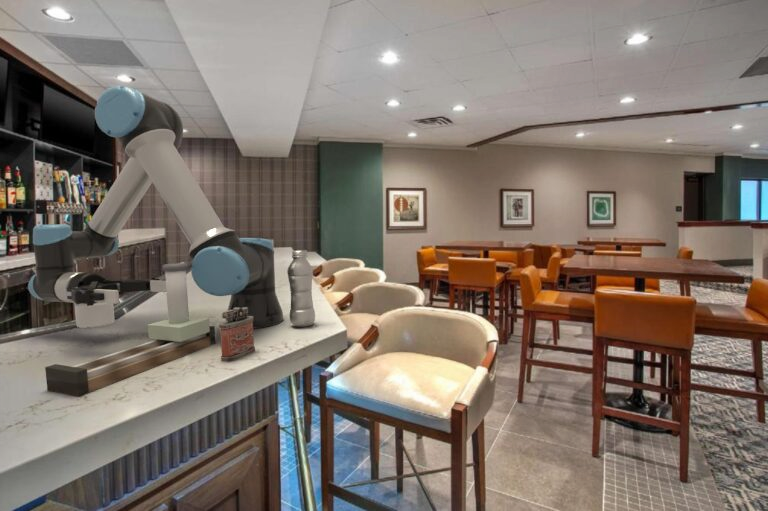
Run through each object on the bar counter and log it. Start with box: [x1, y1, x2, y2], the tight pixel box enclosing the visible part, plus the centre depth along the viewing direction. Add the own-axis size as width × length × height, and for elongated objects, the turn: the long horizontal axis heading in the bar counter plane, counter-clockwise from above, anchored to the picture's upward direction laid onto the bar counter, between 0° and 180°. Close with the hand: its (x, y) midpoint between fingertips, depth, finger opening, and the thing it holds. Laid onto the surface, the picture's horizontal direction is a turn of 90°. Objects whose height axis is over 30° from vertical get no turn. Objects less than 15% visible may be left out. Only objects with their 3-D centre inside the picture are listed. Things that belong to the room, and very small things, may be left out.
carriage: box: [147, 262, 210, 342], centre depth 89 cm, size 8×9×16 cm
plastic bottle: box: [286, 249, 316, 328], centre depth 108 cm, size 6×7×20 cm
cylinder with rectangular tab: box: [74, 302, 116, 329], centre depth 117 cm, size 9×9×12 cm
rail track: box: [44, 325, 216, 397], centre depth 82 cm, size 30×8×4 cm, turn 159°
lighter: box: [218, 307, 256, 363], centre depth 85 cm, size 8×3×10 cm, turn 152°
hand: (146, 291), depth 93 cm, fingers open, 13 cm apart
